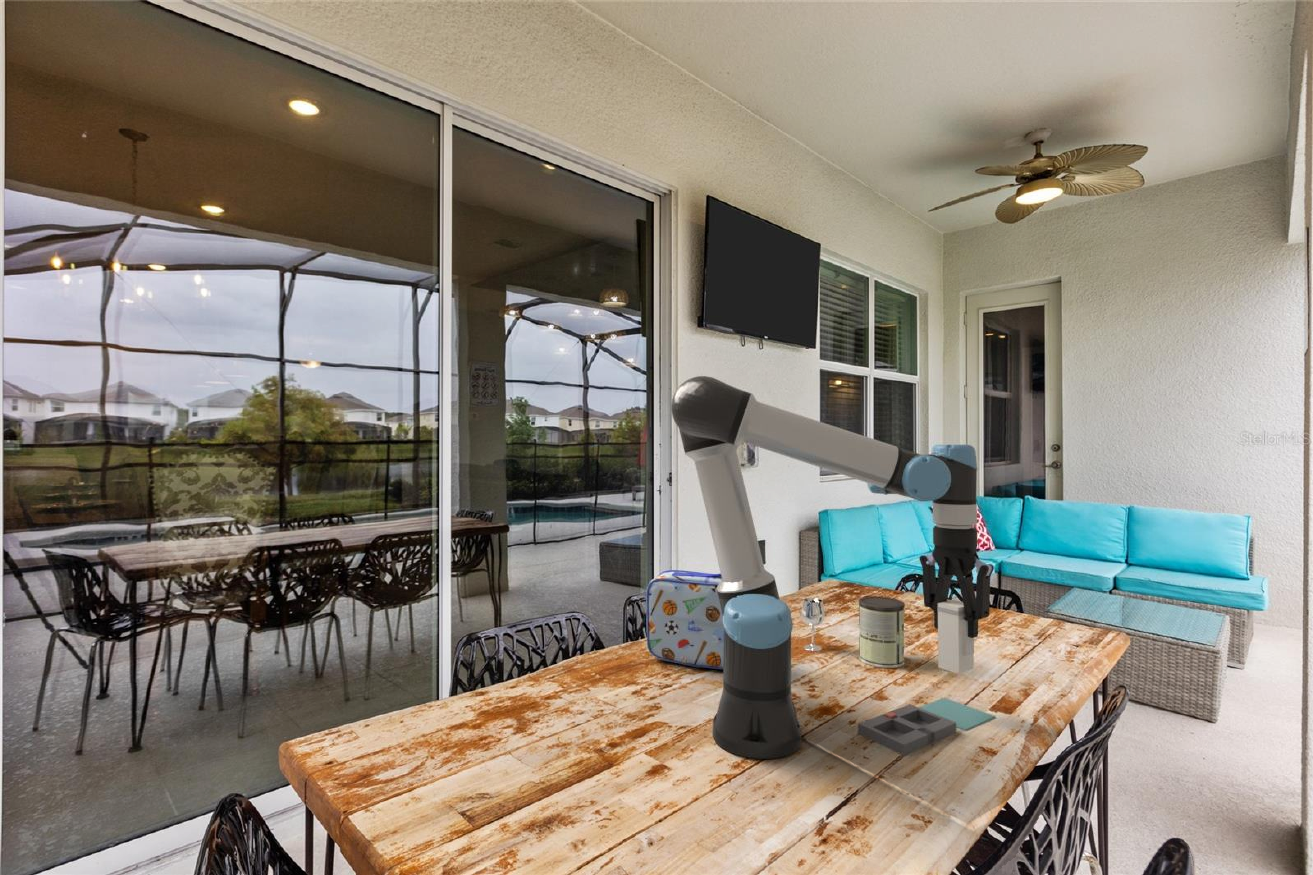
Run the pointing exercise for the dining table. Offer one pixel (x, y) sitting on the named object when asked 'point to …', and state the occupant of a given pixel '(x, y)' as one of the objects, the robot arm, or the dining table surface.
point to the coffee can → (881, 632)
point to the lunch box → (685, 619)
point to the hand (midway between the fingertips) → (955, 650)
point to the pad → (957, 713)
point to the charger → (952, 638)
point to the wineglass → (812, 618)
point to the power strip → (907, 729)
